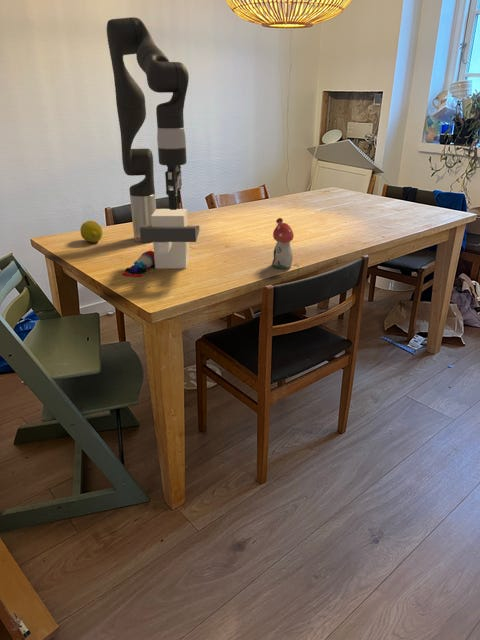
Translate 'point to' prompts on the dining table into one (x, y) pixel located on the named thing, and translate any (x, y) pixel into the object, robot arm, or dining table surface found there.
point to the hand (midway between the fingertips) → (175, 206)
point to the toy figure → (141, 264)
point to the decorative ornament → (282, 245)
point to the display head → (169, 251)
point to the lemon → (91, 231)
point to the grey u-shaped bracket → (169, 234)
